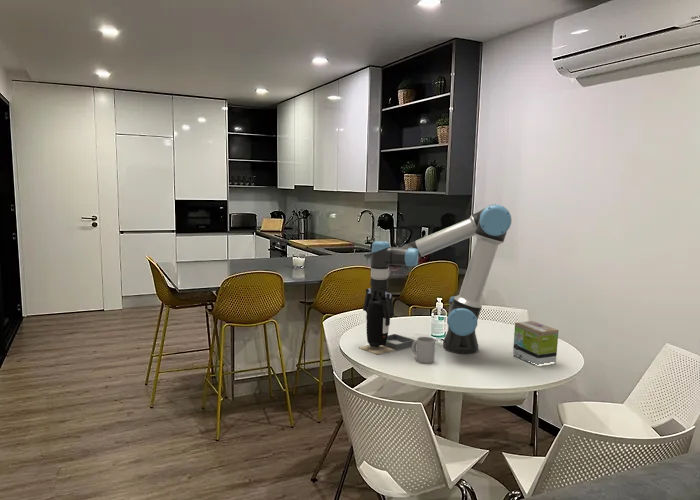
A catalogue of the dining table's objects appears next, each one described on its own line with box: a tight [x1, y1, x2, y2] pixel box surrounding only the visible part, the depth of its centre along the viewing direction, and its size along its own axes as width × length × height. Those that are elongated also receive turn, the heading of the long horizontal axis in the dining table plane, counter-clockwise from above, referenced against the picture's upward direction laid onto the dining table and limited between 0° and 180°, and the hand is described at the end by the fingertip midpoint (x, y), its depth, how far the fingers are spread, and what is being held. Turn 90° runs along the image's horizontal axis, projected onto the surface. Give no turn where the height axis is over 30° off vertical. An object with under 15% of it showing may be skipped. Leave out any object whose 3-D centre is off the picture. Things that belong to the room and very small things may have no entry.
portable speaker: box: [366, 300, 389, 347], centre depth 219 cm, size 9×9×20 cm
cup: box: [411, 336, 436, 365], centre depth 208 cm, size 7×10×9 cm
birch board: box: [358, 344, 395, 356], centre depth 220 cm, size 11×10×1 cm
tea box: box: [512, 320, 559, 365], centre depth 212 cm, size 15×10×15 cm
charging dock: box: [383, 333, 415, 351], centre depth 228 cm, size 12×12×3 cm
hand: (377, 330), depth 220 cm, fingers closed on portable speaker, 9 cm apart
